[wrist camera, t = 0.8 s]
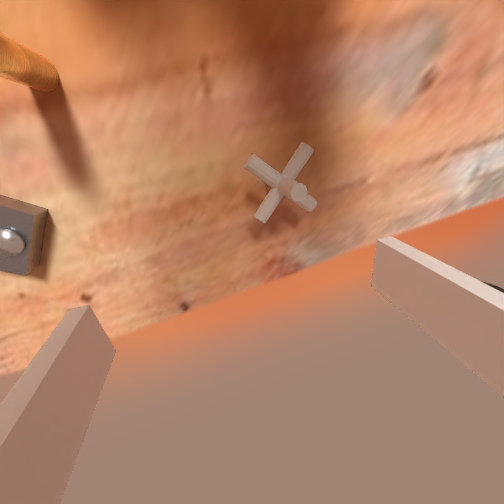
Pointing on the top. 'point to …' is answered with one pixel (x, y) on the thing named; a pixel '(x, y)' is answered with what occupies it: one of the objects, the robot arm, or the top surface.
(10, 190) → the top surface
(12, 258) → the chain end
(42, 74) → the pin
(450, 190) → the top surface
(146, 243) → the top surface
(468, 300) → the robot arm
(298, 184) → the pipe connector
